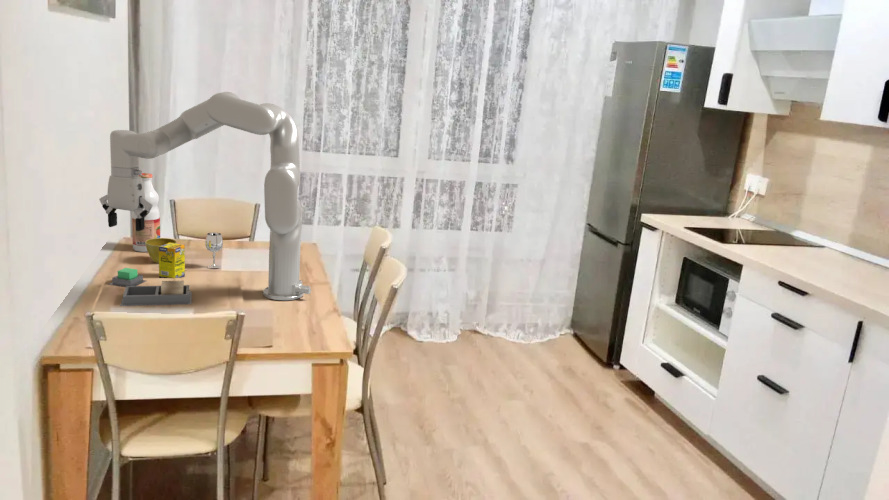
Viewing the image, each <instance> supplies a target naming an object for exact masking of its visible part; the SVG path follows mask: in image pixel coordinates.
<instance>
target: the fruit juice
mask: <svg viewBox="0 0 889 500" xmlns="http://www.w3.org/2000/svg"><path fill="white" fill-rule="evenodd" d="M153 176H154V175H153V174H152V173H149V172H142V174H141V175H139V177H141V178H142V182H143V186H144V193H145V200H146V201H148V202H149V203H150V204H152V208H151V210H150V212H149V213H148V214H147V215H146V217H144V220H145V227H144V230H141V231H136V218H138V217H137V216H136V214H135V213H134V211H131V225H132V226H131V228H132V229H131V231H132V232H131V234H132V248H133V250H134V251H135V252H139V253H148V251H147V248H146V244H145V241H147V240H149V239H155V238H161V213H160V208H159V204H160V203H159V202H160V196H159V194H158V192H157V191H156V190H155V188H154V186H153V181H152V180H153V178H154V177H153ZM144 209H145V208H143V210H144Z"/></svg>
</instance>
